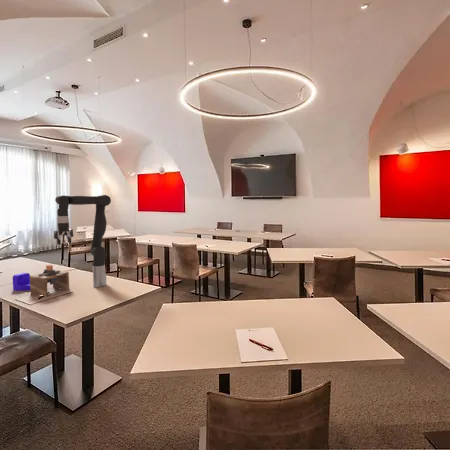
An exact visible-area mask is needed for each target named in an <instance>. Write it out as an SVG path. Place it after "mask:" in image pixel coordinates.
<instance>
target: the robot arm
mask: <svg viewBox="0 0 450 450" xmlns="http://www.w3.org/2000/svg"><path fill="white" fill-rule="evenodd" d="M54 201H55V203H56V204H58V208H57V211H56V213H57V222H56V223H57V229H58V230H54V231H53V239H55V240H56V244H57V245H61V238H62V237H63V236H65V237H67V244H68V243H69V244H71V243H72V238H74V229H73V228H70V220H69V219H70V218H69V206H70V205H73V206H75V205H76V206H81V205H82V206H83V205H85V206H86V205H95V214H94V215H95V217H94V224H93V234H92V243H91V247H90V254H91V255H92V256H93V257H94V258H93V259H94V260H93V261H92V277H93V278H92V282H93V283H92V284H93V285H92V286H93V287H94V288H101V287H105V286H106V285H107V273H106V260H107V258H106V257H107V255H106V254H107V251H106V248H105V247H103V246H102V240H103V238H104V235H105V234H106V231H107V223H108V222H107V217H106V211H105V210H106V207H107V206H109V205H110V204H111V202H112V199H111V197H110V196H109V195H107V194H98V195H96V196H89V195H57V196H56V197H55V200H54Z"/></svg>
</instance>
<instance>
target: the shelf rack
mask: <svg viewBox="0 0 450 450" xmlns="http://www.w3.org/2000/svg"><path fill="white" fill-rule="evenodd" d="M54 270H55V269H54ZM55 272H56V275H52V276H50V275H49V273H45V274H43V272H41V273H37V274H33V275H30V290H31V291H30V295H33V296H37V295H43V296H47V297H48V283H47V279H51V278H55V277H56V282H57V283H56V284H52V288H54V289H58V288H61V289H60V290H63V289H65V291H69V290H70V278H69V277H70V276H69V275H70V274H69V271H65V270H60V269H59V270H58V269H56V270H55ZM46 276H48V277H46Z"/></svg>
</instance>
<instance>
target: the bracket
mask: <svg viewBox="0 0 450 450" xmlns="http://www.w3.org/2000/svg"><path fill="white" fill-rule="evenodd" d="M30 276H31V274H30V273H28V272H21V273H16V274H14V275H13V276H12V289H13V291H17V292H19V291H30V292H31V290H30Z"/></svg>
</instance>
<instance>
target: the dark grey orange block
mask: <svg viewBox="0 0 450 450" xmlns="http://www.w3.org/2000/svg"><path fill="white" fill-rule="evenodd" d="M53 268H54V265H52V264H47V265H45V269H43V272H42V273H43V274H45V273H49V275H50V276H52V275H56V272H55V269H53ZM46 277H48V276H46ZM56 283H57V282H56V277H55V278H51V279H47V284H49V285H52V286H53V284H56Z"/></svg>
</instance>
